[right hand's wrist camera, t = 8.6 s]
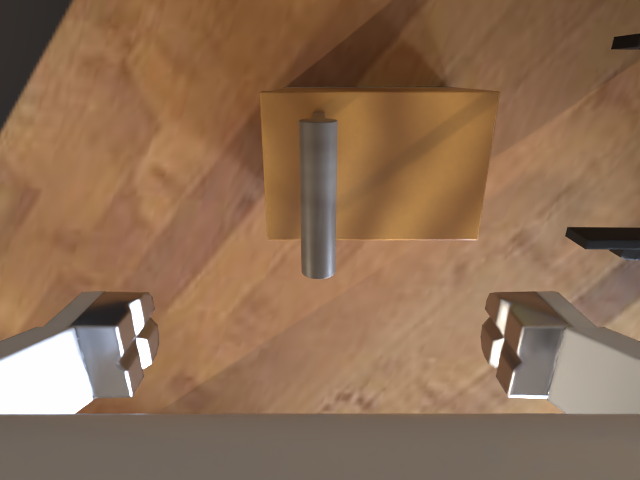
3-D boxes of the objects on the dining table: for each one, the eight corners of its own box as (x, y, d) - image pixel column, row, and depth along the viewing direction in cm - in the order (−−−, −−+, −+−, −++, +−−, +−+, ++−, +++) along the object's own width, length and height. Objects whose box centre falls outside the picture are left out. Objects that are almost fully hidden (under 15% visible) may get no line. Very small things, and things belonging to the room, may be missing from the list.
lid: (268, 235, 28) (249, 296, 20) (261, 91, 25) (233, 98, 17) (473, 235, 28) (531, 296, 20) (494, 90, 25) (574, 97, 17)
